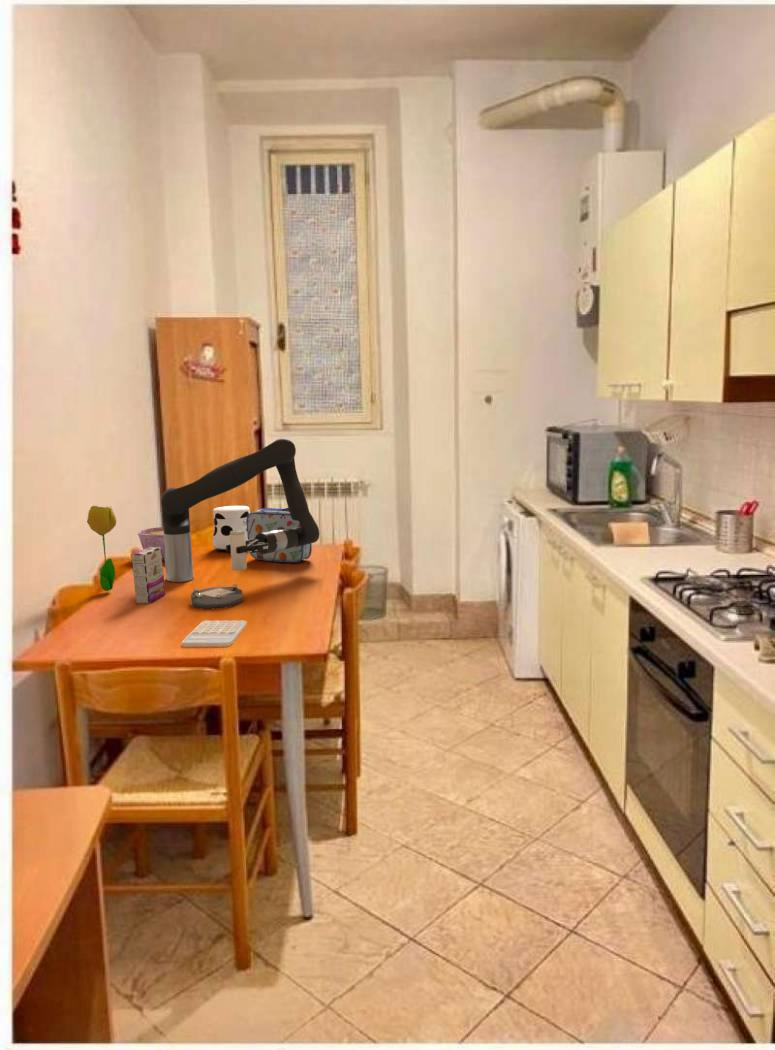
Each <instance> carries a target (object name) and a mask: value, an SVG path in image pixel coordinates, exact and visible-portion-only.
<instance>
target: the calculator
mask: <svg viewBox="0 0 775 1050" xmlns="http://www.w3.org/2000/svg"><path fill="white" fill-rule="evenodd" d="M246 625H248V622H247V621H246V620H242V619H241V620H226V619H225V620H224V619H223V620H203V621H201V622H200V623H199V624H198V625H197V626H196V627H195V628H193V630H192V631H191V632H190V633H189V634H187V636H186V637H185V638H184V639H183V640H182V641H181V647H184V648H187V647H188V648H191V647H192V648H196V647H197V648H198V647H199V648H201V647H202V648H203V647H206V648H207V647H209V648H210V647H216V648H217V647H218V648H219V647H222V648H223V646H224V647H230V646H232V645H233V644H232V643H234V642H235V641H236V640H235V639H238V637H239V636H240V635H241V633H243V631H244V630H245V628H247V626H246ZM243 629H244V630H243ZM239 634H240V635H239ZM231 644H232V645H231Z"/></svg>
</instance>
